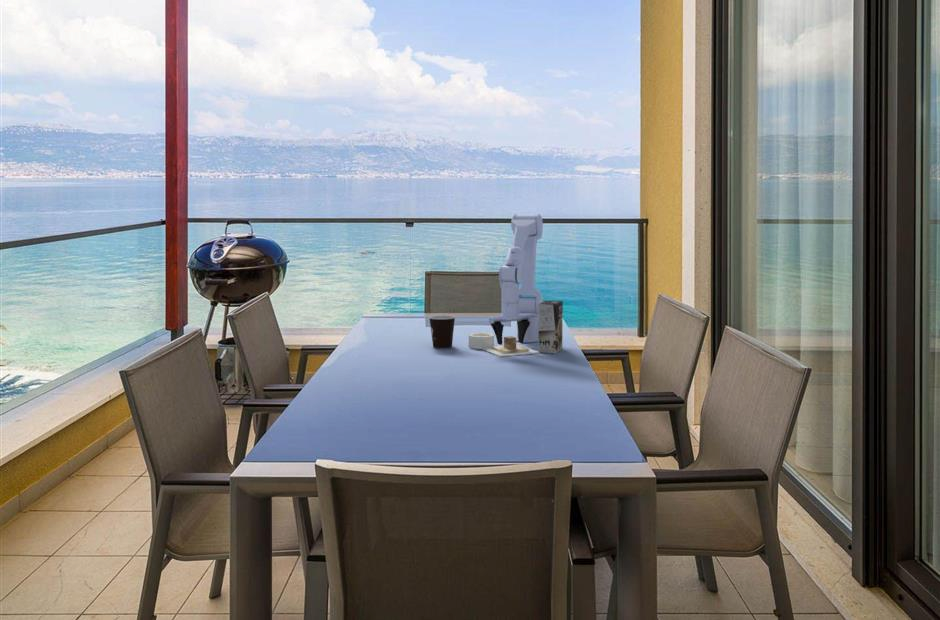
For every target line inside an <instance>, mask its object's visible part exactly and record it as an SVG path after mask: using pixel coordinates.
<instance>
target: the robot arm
mask: <svg viewBox="0 0 940 620" xmlns="http://www.w3.org/2000/svg"><path fill="white" fill-rule="evenodd" d="M510 225H511V226H510V227H511V230H512V233H513V234H514V235H513V240H512V241H513V242H512V245H511V247H509V249H508V250H507V252H506V257H505V260H504V263H503V265H502V266H500V268H499V271H498V280H499V287H500V289H501V314H499V315H493V316H488V323H489V324H490V326H491V328H492V329H493V332H494V336H495V338H496V342H497V345H498V346H503V332H504V327H505V326H504V324H502V323H507V322H516V342H518V343H521V344H524V343H525V344H526V343H534V342H538V339H539V304H540V303H542V302H543V294H542V293H541V291H539V289H537V288H536V287H535V282H536V262H537V259H536V258H537V257H536V256H537V244H538V240H540V239H542V238H543V237H542V236H543V228H544V227H543V225H544V223H543V217H542V215H541V214H540V213H537V214H528V213H526V214H522V213H521V214H518V213H515V214H513V215H512V216H511V221H510Z"/></svg>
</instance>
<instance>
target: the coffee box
mask: <svg viewBox="0 0 940 620" xmlns="http://www.w3.org/2000/svg"><path fill="white" fill-rule="evenodd" d="M563 306H564V302H563V300H544V301H542V303H540V304H539V339H538V341H537V342H538V343H537V344H538V346H537V347H538V349H537V352H539V353H543V354H558V352H560V351H561V350H563V318H564V317H563V316H564V315H563V314H564V313H563V311H564V309H563V308H564V307H563Z"/></svg>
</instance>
